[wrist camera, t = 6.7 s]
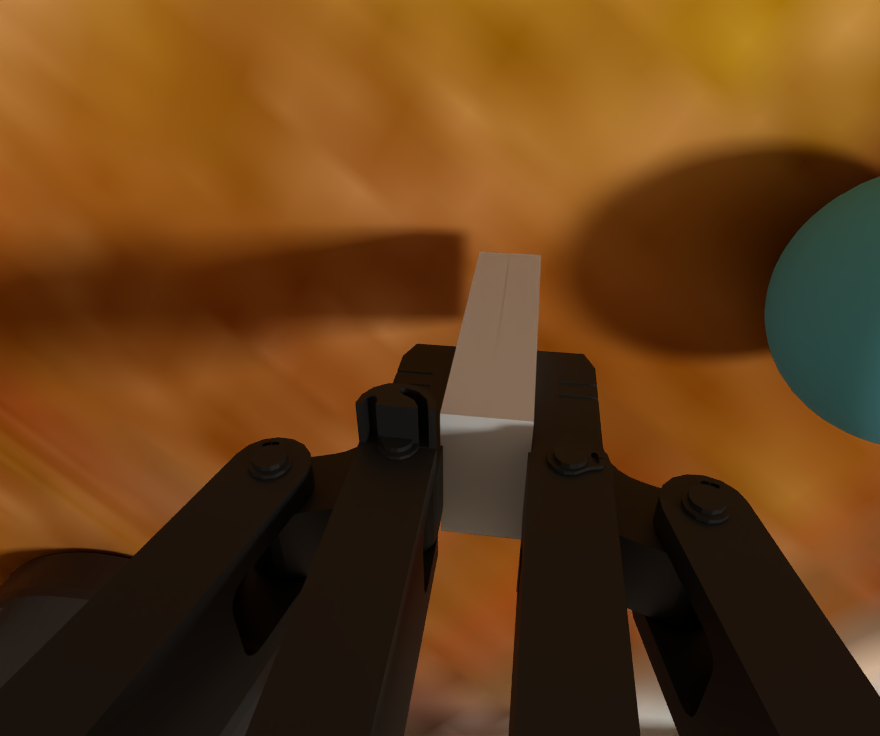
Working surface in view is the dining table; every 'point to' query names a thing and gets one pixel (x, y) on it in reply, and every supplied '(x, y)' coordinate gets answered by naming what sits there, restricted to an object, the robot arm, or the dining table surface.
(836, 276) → the ball
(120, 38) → the dining table surface
